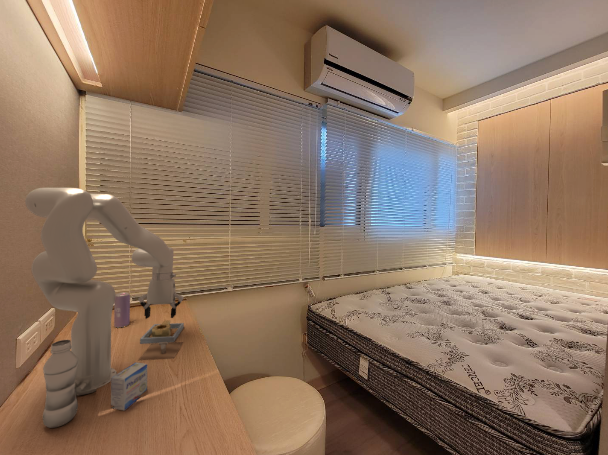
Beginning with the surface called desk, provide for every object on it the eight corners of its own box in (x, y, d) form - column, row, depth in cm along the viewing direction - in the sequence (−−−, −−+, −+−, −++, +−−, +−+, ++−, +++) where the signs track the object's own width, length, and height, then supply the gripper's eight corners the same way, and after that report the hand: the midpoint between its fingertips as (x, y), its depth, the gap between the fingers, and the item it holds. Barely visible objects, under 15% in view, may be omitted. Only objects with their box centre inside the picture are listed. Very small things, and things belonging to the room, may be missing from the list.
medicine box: (124, 411, 69) (124, 379, 68) (110, 408, 70) (110, 377, 69) (147, 392, 76) (148, 363, 76) (134, 390, 77) (135, 361, 77)
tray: (173, 344, 105) (174, 337, 105) (139, 346, 103) (140, 338, 103) (183, 329, 120) (183, 323, 120) (154, 330, 117) (154, 324, 117)
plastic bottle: (74, 408, 69) (75, 334, 69) (80, 421, 65) (81, 342, 64) (40, 422, 64) (41, 342, 64) (44, 437, 60) (44, 352, 59)
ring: (167, 340, 107) (167, 329, 107) (150, 341, 106) (150, 330, 106) (174, 329, 117) (174, 320, 117) (159, 330, 116) (159, 320, 116)
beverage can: (132, 323, 125) (133, 292, 124) (122, 328, 119) (123, 296, 118) (121, 322, 125) (121, 292, 125) (110, 327, 119) (111, 295, 119)
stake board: (174, 360, 93) (174, 347, 93) (137, 363, 91) (137, 349, 91) (183, 344, 106) (183, 332, 106) (151, 346, 104) (151, 333, 103)
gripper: (186, 275, 114) (184, 314, 114) (143, 274, 111) (141, 315, 110) (181, 278, 106) (179, 320, 106) (135, 278, 103) (133, 321, 103)
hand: (160, 317), depth 108 cm, fingers open, 9 cm apart
